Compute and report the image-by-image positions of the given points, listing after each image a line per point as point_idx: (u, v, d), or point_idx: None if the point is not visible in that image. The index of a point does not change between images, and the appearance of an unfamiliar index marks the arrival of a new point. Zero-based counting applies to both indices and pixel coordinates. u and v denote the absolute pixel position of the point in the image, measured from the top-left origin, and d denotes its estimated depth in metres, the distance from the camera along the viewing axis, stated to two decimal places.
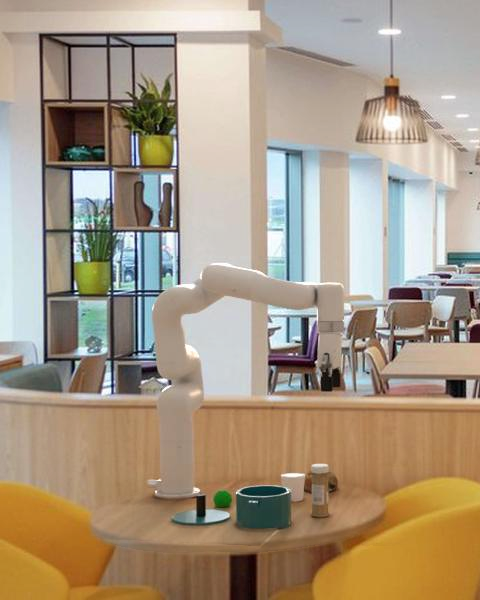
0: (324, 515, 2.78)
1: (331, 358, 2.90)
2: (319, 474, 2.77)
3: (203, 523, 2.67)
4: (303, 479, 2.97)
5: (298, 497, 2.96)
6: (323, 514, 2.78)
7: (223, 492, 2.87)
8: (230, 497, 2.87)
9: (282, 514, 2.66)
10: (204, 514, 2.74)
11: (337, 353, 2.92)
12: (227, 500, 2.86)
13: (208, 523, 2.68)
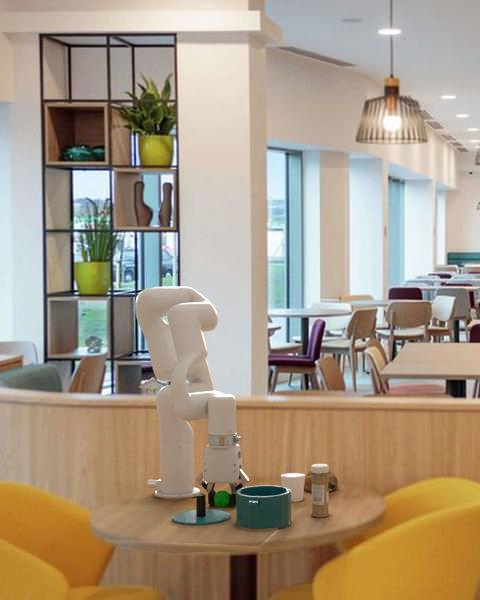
0: (324, 515, 2.78)
1: (203, 470, 2.87)
2: (319, 474, 2.77)
3: (203, 523, 2.67)
4: (303, 479, 2.97)
5: (298, 497, 2.96)
6: (323, 514, 2.78)
7: (223, 492, 2.87)
8: None
9: (282, 514, 2.66)
10: (204, 514, 2.74)
11: (212, 467, 2.86)
12: (227, 500, 2.86)
13: (208, 523, 2.68)
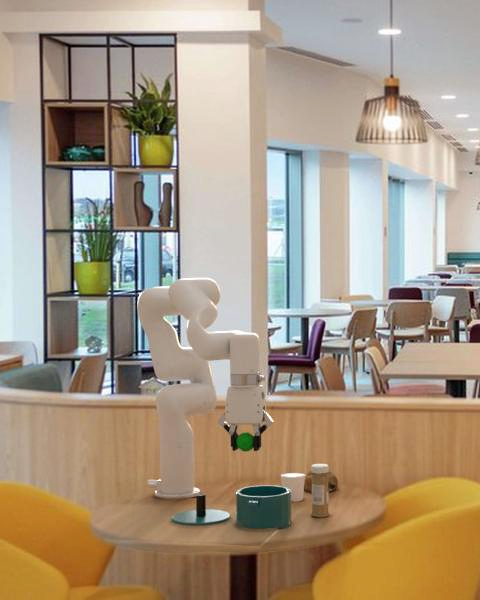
0: (324, 515, 2.78)
1: (225, 412, 2.76)
2: (319, 474, 2.77)
3: (203, 523, 2.67)
4: (303, 479, 2.97)
5: (298, 497, 2.96)
6: (323, 514, 2.78)
7: (246, 434, 2.76)
8: None
9: (282, 514, 2.66)
10: (204, 514, 2.74)
11: (235, 408, 2.75)
12: (250, 442, 2.75)
13: (208, 523, 2.68)
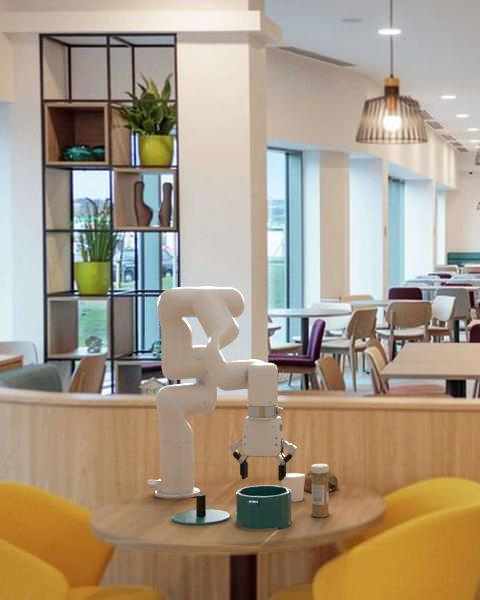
0: (324, 515, 2.78)
1: (242, 443, 2.69)
2: (319, 474, 2.77)
3: (203, 523, 2.67)
4: (303, 479, 2.97)
5: (298, 497, 2.96)
6: (323, 514, 2.78)
7: None
8: None
9: (282, 514, 2.66)
10: (204, 514, 2.74)
11: (252, 440, 2.68)
12: None
13: (208, 523, 2.68)
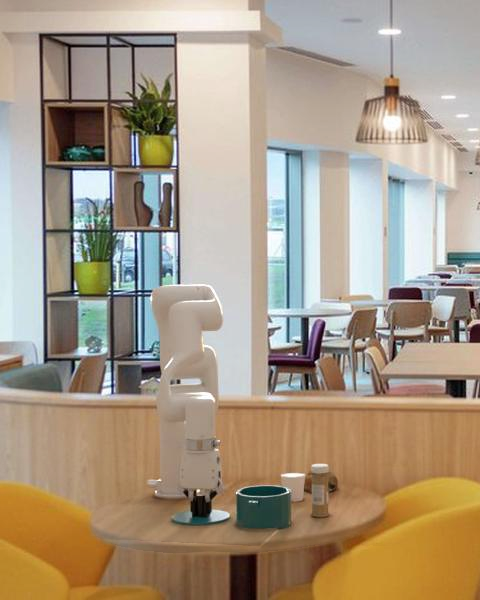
0: (324, 515, 2.78)
1: (180, 476, 2.73)
2: (319, 474, 2.77)
3: (203, 523, 2.67)
4: (303, 479, 2.97)
5: (298, 497, 2.96)
6: (323, 514, 2.78)
7: None
8: None
9: (282, 514, 2.66)
10: None
11: (190, 473, 2.72)
12: None
13: (208, 523, 2.68)
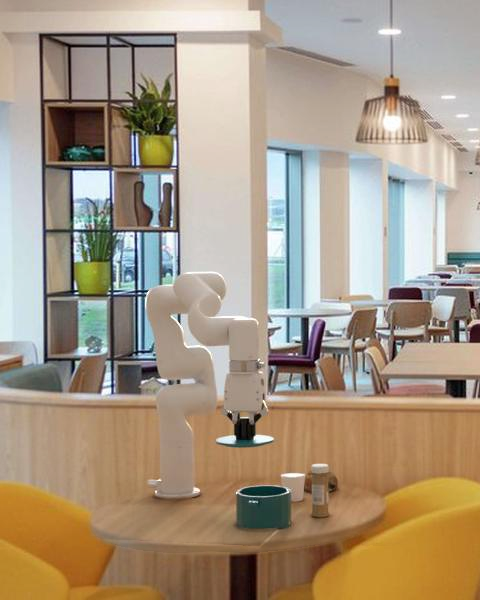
0: (324, 515, 2.78)
1: (224, 399, 2.70)
2: (319, 474, 2.77)
3: (248, 444, 2.64)
4: (303, 479, 2.97)
5: (298, 497, 2.96)
6: (323, 514, 2.78)
7: None
8: None
9: (282, 514, 2.66)
10: None
11: (234, 395, 2.68)
12: None
13: (253, 444, 2.64)
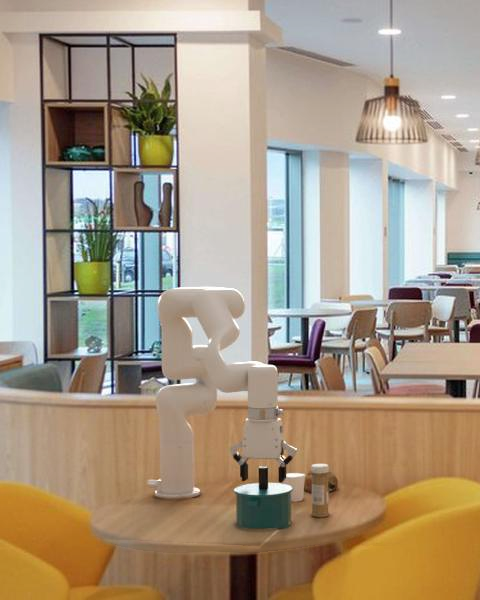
0: (324, 515, 2.78)
1: None
2: (319, 474, 2.77)
3: (267, 495, 2.63)
4: (303, 479, 2.97)
5: (298, 497, 2.96)
6: (323, 514, 2.78)
7: None
8: None
9: (282, 514, 2.66)
10: (267, 487, 2.70)
11: (252, 442, 2.68)
12: None
13: (272, 495, 2.64)
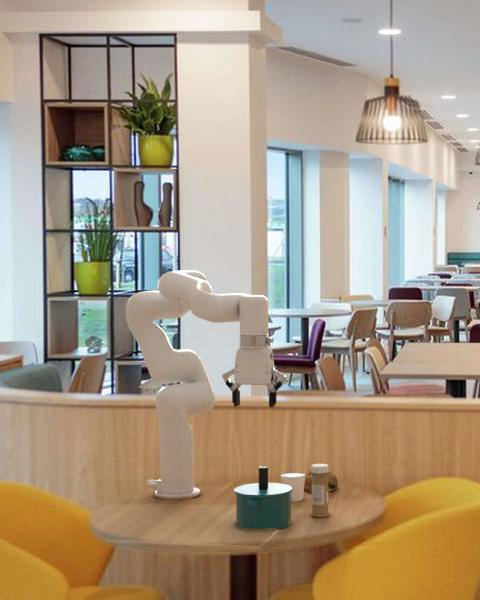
0: (324, 515, 2.78)
1: (234, 372, 2.81)
2: (319, 474, 2.77)
3: (267, 495, 2.63)
4: (303, 479, 2.97)
5: (298, 497, 2.96)
6: (323, 514, 2.78)
7: None
8: None
9: (282, 514, 2.66)
10: (267, 487, 2.70)
11: (244, 369, 2.80)
12: None
13: (272, 495, 2.64)
